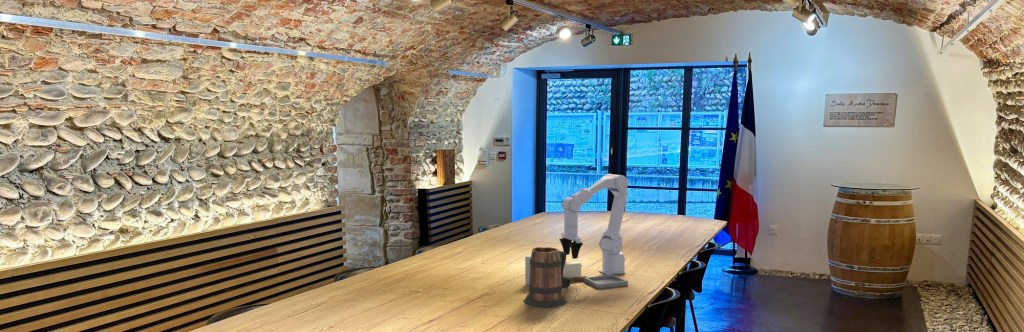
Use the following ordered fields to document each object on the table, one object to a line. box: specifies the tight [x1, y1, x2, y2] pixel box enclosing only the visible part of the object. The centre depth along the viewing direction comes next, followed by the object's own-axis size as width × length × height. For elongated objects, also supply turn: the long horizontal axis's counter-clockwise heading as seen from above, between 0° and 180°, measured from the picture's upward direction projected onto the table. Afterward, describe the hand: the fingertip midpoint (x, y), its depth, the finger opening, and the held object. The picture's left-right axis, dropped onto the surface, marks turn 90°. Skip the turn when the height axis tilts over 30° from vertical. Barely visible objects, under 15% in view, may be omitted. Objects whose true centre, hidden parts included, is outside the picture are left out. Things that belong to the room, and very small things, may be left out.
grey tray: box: [583, 274, 629, 290], centre depth 269 cm, size 14×12×2 cm
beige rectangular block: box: [563, 260, 583, 278], centre depth 278 cm, size 9×4×7 cm, turn 112°
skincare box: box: [524, 254, 531, 286], centre depth 268 cm, size 6×4×12 cm
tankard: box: [522, 246, 572, 309], centre depth 246 cm, size 24×17×20 cm
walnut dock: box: [570, 275, 588, 284], centre depth 277 cm, size 10×12×2 cm
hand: (570, 256), depth 277 cm, fingers open, 7 cm apart
